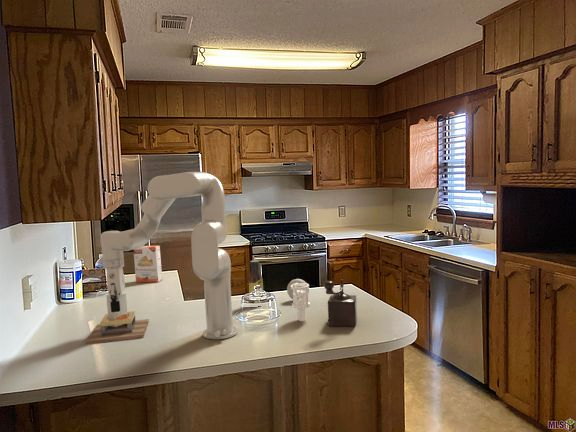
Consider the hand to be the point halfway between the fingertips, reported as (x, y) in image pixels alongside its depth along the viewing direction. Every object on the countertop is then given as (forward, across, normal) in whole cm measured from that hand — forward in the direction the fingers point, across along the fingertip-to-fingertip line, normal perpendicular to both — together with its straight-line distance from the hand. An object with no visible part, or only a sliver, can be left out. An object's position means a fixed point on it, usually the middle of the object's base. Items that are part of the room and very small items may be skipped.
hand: (117, 308), depth 180 cm
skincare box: (+6, 0, 0) cm, 6 cm away
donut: (+10, +19, -75) cm, 78 cm away
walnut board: (+9, 0, 0) cm, 9 cm away
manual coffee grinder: (+10, -21, -83) cm, 86 cm away
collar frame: (+8, 0, 0) cm, 8 cm away
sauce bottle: (+10, +19, -56) cm, 60 cm away
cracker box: (+10, +94, -2) cm, 95 cm away
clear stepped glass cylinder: (+9, -10, -70) cm, 71 cm away
